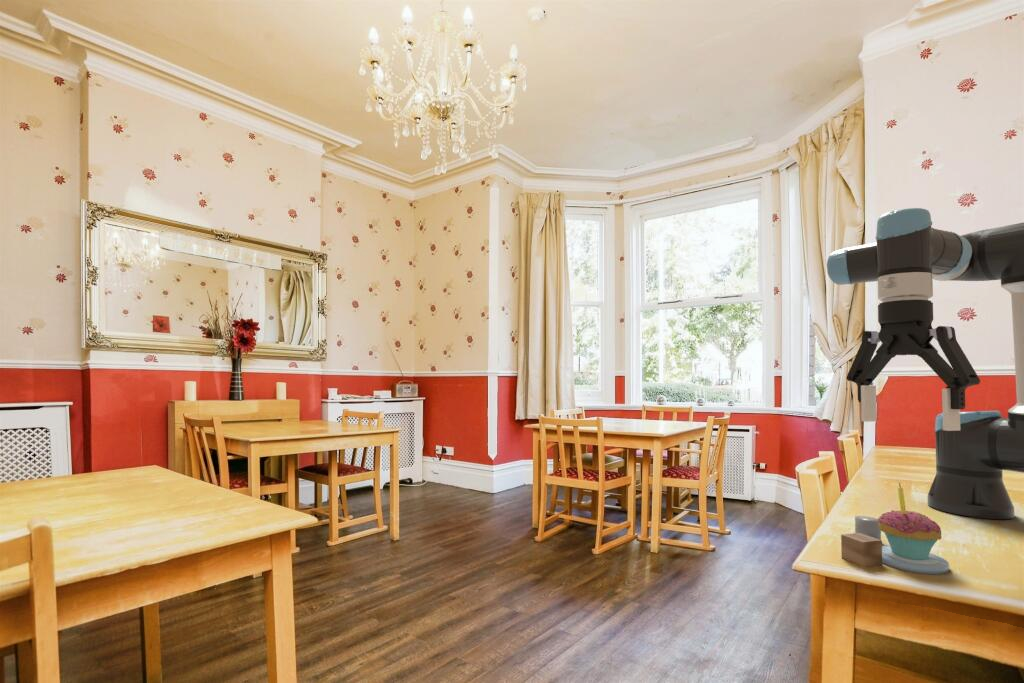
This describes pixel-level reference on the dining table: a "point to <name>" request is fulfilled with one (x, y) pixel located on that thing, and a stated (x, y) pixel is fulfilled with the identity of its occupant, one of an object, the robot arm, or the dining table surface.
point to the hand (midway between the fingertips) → (907, 425)
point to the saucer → (915, 563)
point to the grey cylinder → (867, 526)
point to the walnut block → (861, 549)
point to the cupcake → (909, 531)
